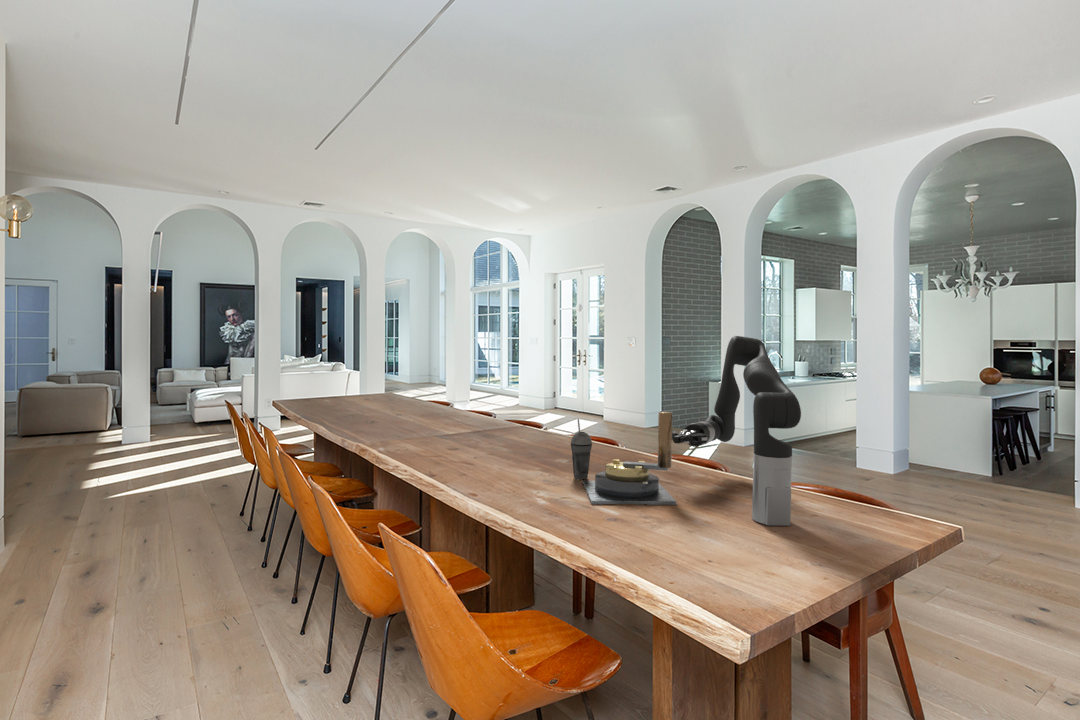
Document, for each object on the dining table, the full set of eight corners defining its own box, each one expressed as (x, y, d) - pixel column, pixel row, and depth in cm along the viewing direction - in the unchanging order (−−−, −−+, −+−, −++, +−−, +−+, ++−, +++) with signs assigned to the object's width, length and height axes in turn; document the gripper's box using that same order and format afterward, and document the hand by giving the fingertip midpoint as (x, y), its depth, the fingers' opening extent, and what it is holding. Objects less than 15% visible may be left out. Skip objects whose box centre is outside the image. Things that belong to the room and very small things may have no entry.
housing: (676, 504, 166) (676, 486, 166) (591, 504, 165) (591, 485, 165) (657, 484, 190) (657, 467, 190) (582, 483, 189) (583, 467, 189)
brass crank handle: (601, 479, 173) (602, 412, 172) (608, 470, 185) (610, 407, 185) (669, 484, 168) (671, 415, 167) (672, 475, 180) (673, 410, 179)
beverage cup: (592, 481, 193) (593, 420, 192) (570, 480, 193) (571, 419, 192) (590, 476, 200) (592, 417, 199) (569, 475, 200) (570, 417, 199)
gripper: (681, 420, 197) (656, 425, 184) (719, 424, 189) (697, 430, 176) (680, 442, 198) (656, 449, 184) (718, 447, 189) (696, 455, 176)
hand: (676, 440), depth 180 cm, fingers closed
